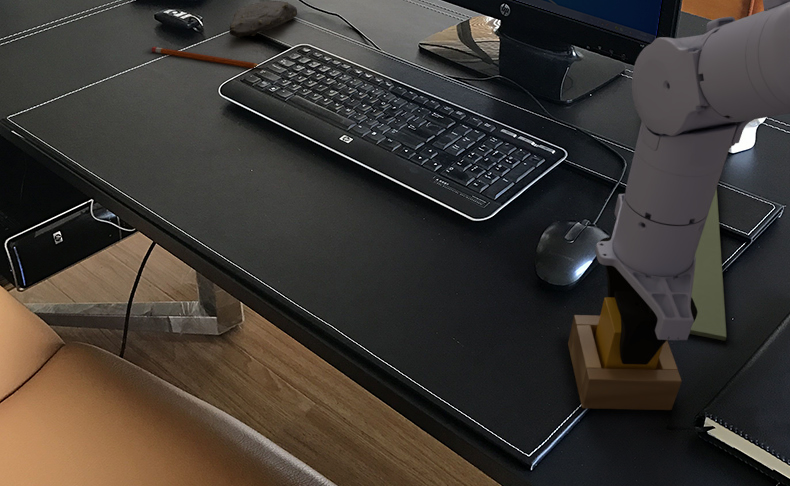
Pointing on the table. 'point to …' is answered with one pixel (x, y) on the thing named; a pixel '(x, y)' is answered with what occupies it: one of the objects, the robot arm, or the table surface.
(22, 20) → the table surface
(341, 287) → the table surface
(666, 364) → the stand
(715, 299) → the mat
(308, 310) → the table surface
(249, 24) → the stone
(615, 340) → the block
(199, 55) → the pencil
